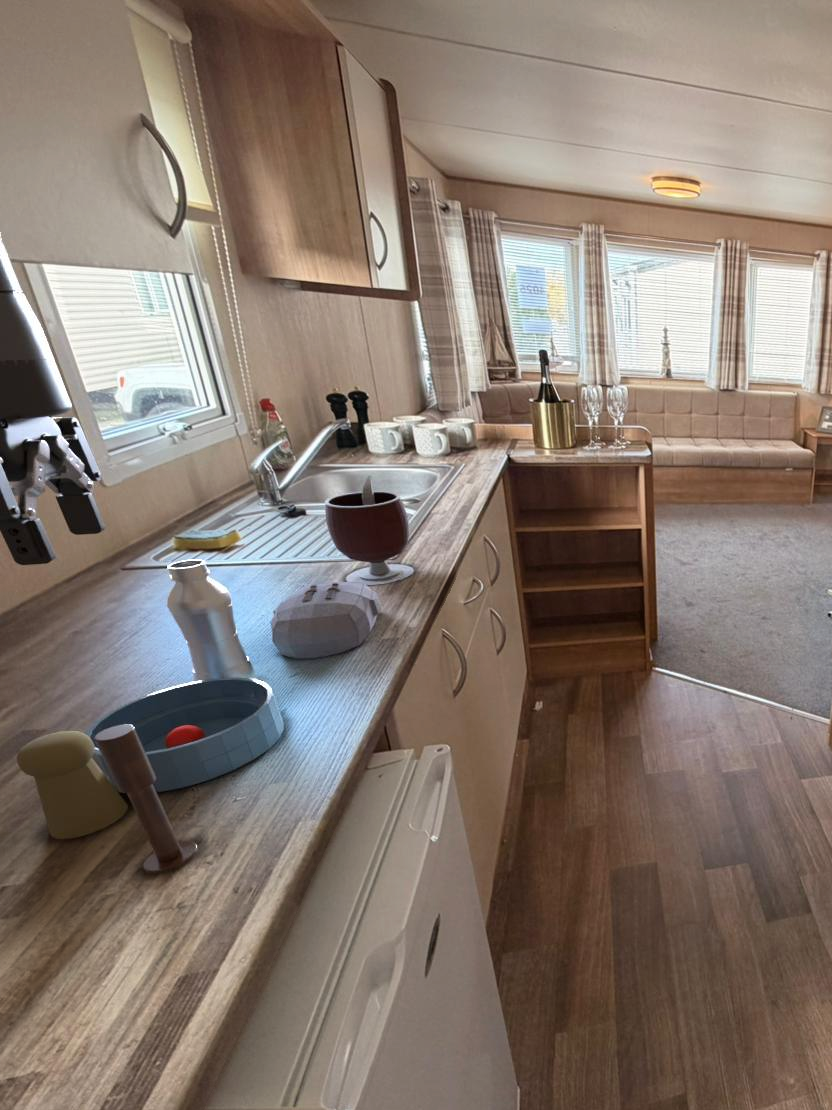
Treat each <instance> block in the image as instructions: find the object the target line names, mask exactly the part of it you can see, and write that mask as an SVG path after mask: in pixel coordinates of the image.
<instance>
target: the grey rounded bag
mask: <svg viewBox="0 0 832 1110" xmlns="http://www.w3.org/2000/svg"><path fill="white" fill-rule="evenodd" d="M377 593H378V592H377V591H374V590H373V589H372V588H370V587H369V585H365V584H364V583H359V582H347V581H333V582H325V583H318V584H312V585H309V586H306V587H303V588H300V589H299V590H297V591H295V592H294V593H292V594H291V595H290V596H288V597H287V598H286V599H285V600H284V601H281V602H280V603H278V605H277V606H276V608H275V609H274V610H273V611H272V612H273V616H272V618H271V620H270V622H269V623H270V626H271V633H272V635H271V636H272V640H271V642H272V643H273V645H274V646H275V647H276V648H277V650H278V651H279V653H280V654H281V656H285V657H289V658H293V659H299V660H300V659H316V658H317V659H319V658H323V657H328V656H333V655H337V654H342V653H344V652H347V651H349V650H351V649H354V648H356V647H359V646H361V644H362V643H363V642H364V640H365V639H366V637H367V636H368V635H369V634H370V633H371V631H372V629H373V627H374V625H375V623H376V621H377V616H378V615H379V614H380V611H381V602H380V599H379V597H378V594H377Z"/></svg>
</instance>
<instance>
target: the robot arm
mask: <svg viewBox="0 0 832 1110" xmlns="http://www.w3.org/2000/svg"><path fill="white" fill-rule="evenodd" d="M1 234H2V233H0V533H1V535H2V538H3V539H4V542H5V544H6V547H7V549H8V550H9V553H10V555H11V557H12V560H13V561H14V562H15V563H16V564H18V565H20V566H34V565H46V564H49V563H51V562H52V561H54V560H56V557H57V556H56V553H55V551H54V548H53V546H52V543H51V541H50V539H49V537H48V535H47V532H46V530H45V528H44V525H43V524H42V521H41V519H40V518H37V517H38V516H37V515H38V510H37V509H38V497H39V496H41V495H43V494H45V491H46V486H47V487H48V488H49V489H50V490H51V491H52V492H53V493H55V494H56V495H55V499H56V502H57V504H58V507H59V509H60V511H61V514H62V516H63V518H64V521H65V523H66V525H67V526H66V527H67V528H68V530H69V532H70V533H71V534H73V535H77V536H82V535H83V536H84V535H97V534H100V533H101V532H104V531H105V529H106V525H105V523H104V521H103V519H102V516H101V513H100V511H99V508H98V506H97V503H96V500H95V499H94V496H93V493H94V492H95V490H96V488H95V484H94V482H101V480H102V473H101V470H100V469H99V466H98V464H97V462H96V459H95V457H94V455H93V452H92V449H91V447H90V445H89V442H88V440H87V437H86V436H85V433H84V431H83V428H82V426H81V424H80V422H79V420H78V419H77V418H76V417H71V416H70V417H69V416H68V417H54V416H61V415H65V414H67V413H69V412H70V411H72V408H73V404H72V402H71V400H70V397H69V395H68V392H67V389H66V387H65V384H64V382H63V378H62V376H61V373H60V371H59V368H58V365H57V364H56V362H55V358H54V356H53V354H52V351H51V348H50V346H49V342H48V341H47V338H46V336H45V333H44V330H43V328H42V325H41V323H40V322H39V320H38V318H37V316H36V314H35V313H34V311H33V309H32V307H31V305H30V304H29V302H28V300H27V298H26V295H25V294H24V293H22V292H23V289H22V286H21V283H20V282H19V280H18V276H17V274H16V272H15V269H14V266H13V264H12V261H11V258H10V256H9V254H8V251H7V248H6V246H5V244H4V241H3V239H2V235H1ZM16 497H17V500H16Z"/></svg>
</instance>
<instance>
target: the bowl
mask: <svg viewBox="0 0 832 1110" xmlns="http://www.w3.org/2000/svg"><path fill="white" fill-rule="evenodd" d="M126 724H127V725H133V726H134V727H135V730H136V732H137V734H138V737H139V739H140V741H141V743H142V746H143V748H144V750H145V753H146V755H147V757H148V760H149V762H150V764H151V766H152V769H153V771H154V773H155V776H156V781H155V782H154V783H153V786H154V788H155V790H156V793H163V792H166V791H167V792H168V791H173V790H177V789H178V790H179V789H183V788H187V787H190V786H194V785H197V784H201V783H204V782H207V781H210V780H212V779H215V778H218V777H220V776H222V775H225V774H228V773H230V772H233V771H234V770H237V769H238V768H241V767H243V766H244V765H246V764H249V763H250V762H252V761H254V760H256V759H257V758H258V757H260V756H261V755H262V754H264V753H266V752H268V750H270V749H271V748H272V747H273V745H275V743H276V742H278V741H279V740H280V738H281V736H282V734H283V732H284V730H285V725H284V720H283V717H282V714H281V711H280V708H279V704H278V701H277V699H276V695H275V693H274V689H273V687H271V686H270V685H269V684H268V683H267V682H265V681H262V680H258V679H250V678H239V677H236V678H217V679H210V680H203V681H196V682H194V681H191V682H188V683H183V684H178V685H174V686H171V687H168V688H165V689H161V690H158V691H155V692H151V693H149V694H146V695H144V696H141V697H139V698H136V699H134V700H133V699H132V700H131V701H129V702H126V703H124V704H122V705H121V706H119V707H117V708H115V709H112V710H110V711H109V712H108V713H106V714H105V715H103V716H101V717H100V718H99V719H97V720H95V722H93V723H92V725H90V727H88V729H87V730H86V731H85V732H84V734H86V735H87V736H88V737H90V739H91V740H92V742H93V744H94V750H95V751H94V754H93V756H92V759H93V760H94V761H95V763H96V764H97V765H98V767H99V768H100V769H101V771H102V772H103V773H104V775H105V776H106V777H107V778H108V780H109V781H110V782H111V784H112V785H113V786H114V788H115V789H116V790H117V792H118V793H121V792H120V791H119V790H118V788H117V786H116V784H115V782H114V780H113V777H112V775H111V773H110V771H109V769H108V767H107V765H106V763H105V761H104V758H103V756H102V754H101V752H100V750H99V748H98V746H97V744H96V741H95V739H94V738H95V736H96V735H97V734H98V733H99V732H101V731H103V730H105V729H108V728H111V727H114V726H118V725H126ZM185 725H192V726H196V727H199V728H200V729H202V730H203V732H204V733H205V737H206V738H203V739H200V740H198V741H195V742H191V743H188V744H184V745H180V746H176V747H172V748H168V749H167V747H166V745H165V740H166V737H167V735H168V734H169V733H170V732H171V731H172V730H174V729H175V728H177V727H180V726H185Z"/></svg>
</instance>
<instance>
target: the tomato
mask: <svg viewBox="0 0 832 1110" xmlns="http://www.w3.org/2000/svg"><path fill="white" fill-rule="evenodd" d="M203 738H206V737H205V733H204V732H203V730H202V729H200V728H199V727H196V726H192V725H185V726H180V727H177V728H175V729H174V730H172V731H171V732H170V733H169V734H168V735H167V737H166V740H165V745H166V747H167V749H168V748H172V747H176V746H180V745H184V744H188V743H191V742H195V741H198V740H200V739H203Z"/></svg>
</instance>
